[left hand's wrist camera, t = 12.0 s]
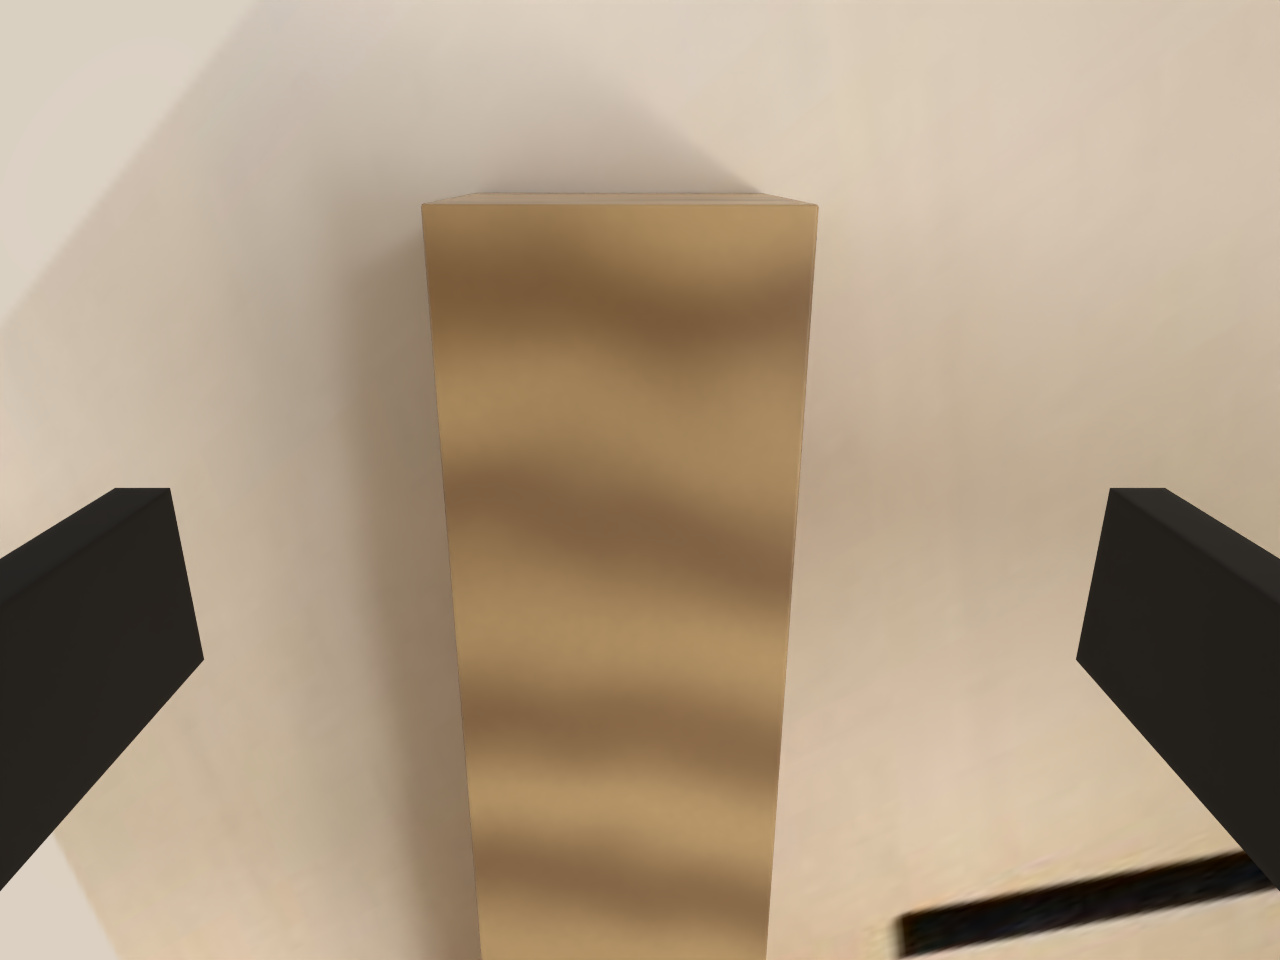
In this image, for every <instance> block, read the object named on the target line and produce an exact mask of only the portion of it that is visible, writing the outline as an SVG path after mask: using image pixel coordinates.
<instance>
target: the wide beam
mask: <svg viewBox="0 0 1280 960" xmlns="http://www.w3.org/2000/svg"><path fill="white" fill-rule="evenodd" d="M818 208H819V207H818V205H816V204H811V203H806V202H802V201H797V200H792V199H787V198H782V197H777V196H773V195H768V194H731V193H474V194H469V195H464V196H459V197H454V198H450V199H445V200H440V201H435V202H430V203H425V204H422V206H421V212H422V224H423V237H424V249H425V262H426V274H427V287H428V299H429V312H430V324H431V337H432V349H433V362H434V374H435V387H436V399H437V412H438V424H439V437H440V449H441V462H442V474H443V487H444V499H445V512H446V524H447V537H448V549H449V562H450V574H451V587H452V599H453V612H454V624H455V637H456V649H457V661H458V674H459V686H460V699H461V711H462V724H463V736H464V749H465V761H466V774H467V786H468V799H469V811H470V824H471V836H472V849H473V861H474V874H475V886H476V899H477V911H478V924H479V936H480V949H481V960H766V950H767V936H768V921H769V907H770V893H771V879H772V864H773V850H774V836H775V822H776V807H777V793H778V779H779V765H780V750H781V736H782V722H783V707H784V693H785V679H786V665H787V650H788V636H789V622H790V608H791V593H792V579H793V565H794V551H795V536H796V522H797V508H798V494H799V479H800V465H801V451H802V436H803V422H804V408H805V394H806V379H807V365H808V351H809V337H810V322H811V308H812V294H813V280H814V265H815V251H816V237H817V223H818Z"/></svg>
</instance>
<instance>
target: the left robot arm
mask: <svg viewBox="0 0 1280 960" xmlns="http://www.w3.org/2000/svg"><path fill="white" fill-rule="evenodd" d="M203 660H204V657H203V652H202V647H201V642H200V637H199V632H198V627H197V622H196V617H195V612H194V607H193V602H192V597H191V592H190V587H189V582H188V577H187V571H186V566H185V561H184V556H183V551H182V546H181V541H180V536H179V531H178V526H177V521H176V516H175V511H174V506H173V501H172V496H171V491H170V488H114V489H113V490H111V491H110V492H108V493H106V494H105V495H103V496H101V497H100V498H98V499H97V500H95V501H93V502H92V503H90V504H88V505H87V506H85V507H84V508H82V509H80V510H79V511H77V512H75V513H74V514H72V515H71V516H69V517H67V518H66V519H64V520H63V521H61V522H59V523H58V524H56V525H54V526H53V527H51V528H50V529H48V530H46V531H45V532H43V533H41V534H40V535H38V536H37V537H35V538H33V539H32V540H30V541H28V542H27V543H25V544H24V545H22V546H20V547H19V548H17V549H16V550H14V551H12V552H11V553H9V554H7V555H6V556H4V557H3V558H1V559H0V891H1V890H2V888H3V887H4V886H5V885H6V884H7V883H8V882H9V881H10V879H11V878H12V877H13V876H14V875H15V874H16V873H17V871H18V870H19V869H20V868H21V867H22V866H23V865H24V863H25V862H26V861H27V860H28V859H29V858H30V857H31V856H32V854H33V853H34V852H35V851H36V850H37V849H38V848H39V846H40V845H41V844H42V843H43V842H44V841H45V840H46V839H47V837H48V836H49V835H50V834H51V833H52V832H53V831H54V829H55V828H56V827H57V826H58V825H59V824H60V823H61V821H62V820H63V819H64V818H65V817H66V816H67V815H68V814H69V812H70V811H71V810H72V809H73V808H74V807H75V806H76V804H77V803H78V802H79V801H80V800H81V799H82V798H83V796H84V795H85V794H86V793H87V792H88V791H89V790H90V789H91V787H92V786H93V785H94V784H95V783H96V782H97V781H98V779H99V778H100V777H101V776H102V775H103V774H104V773H105V771H106V770H107V769H108V768H109V767H110V766H111V765H112V764H113V762H114V761H115V760H116V759H117V758H118V757H119V756H120V754H121V753H122V752H123V751H124V750H125V749H126V748H127V746H128V745H129V744H130V743H131V742H132V741H133V740H134V739H135V737H136V736H137V735H138V734H139V733H140V732H141V731H142V729H143V728H144V727H145V726H146V725H147V724H148V723H149V721H150V720H151V719H152V718H153V717H154V716H155V715H156V714H157V712H158V711H159V710H160V709H161V708H162V707H163V706H164V704H165V703H166V702H167V701H168V700H169V699H170V698H171V696H172V695H173V694H174V693H175V692H176V691H177V690H178V689H179V687H180V686H181V685H182V684H183V683H184V682H185V681H186V679H187V678H188V677H189V676H190V675H191V674H192V673H193V671H194V670H195V669H196V668H197V667H198V666H199V665H200V664H201V662H202V661H203ZM1076 660H1077V661H1078V662H1079V664H1080V665H1081V666H1082V667H1083V668H1084V669H1085V670H1086V671H1087V673H1088V674H1089V675H1090V676H1091V677H1092V678H1093V679H1094V681H1095V682H1096V683H1097V684H1098V685H1099V686H1100V687H1101V689H1102V690H1103V691H1104V692H1105V693H1106V694H1107V695H1108V696H1109V698H1110V699H1111V700H1112V701H1113V702H1114V703H1115V704H1116V706H1117V707H1118V708H1119V709H1120V710H1121V711H1122V712H1123V714H1124V715H1125V716H1126V717H1127V718H1128V719H1129V720H1130V721H1131V723H1132V724H1133V725H1134V726H1135V727H1136V728H1137V729H1138V731H1139V732H1140V733H1141V734H1142V735H1143V736H1144V737H1145V739H1146V740H1147V741H1148V742H1149V743H1150V744H1151V745H1152V746H1153V748H1154V749H1155V750H1156V751H1157V752H1158V753H1159V754H1160V756H1161V757H1162V758H1163V759H1164V760H1165V761H1166V762H1167V764H1168V765H1169V766H1170V767H1171V768H1172V769H1173V770H1174V771H1175V773H1176V774H1177V775H1178V776H1179V777H1180V778H1181V779H1182V781H1183V782H1184V783H1185V784H1186V785H1187V786H1188V787H1189V789H1190V790H1191V791H1192V792H1193V793H1194V794H1195V795H1196V796H1197V798H1198V799H1199V800H1200V801H1201V802H1202V803H1203V804H1204V806H1205V807H1206V808H1207V809H1208V810H1209V811H1210V812H1211V814H1212V815H1213V816H1214V817H1215V818H1216V819H1217V820H1218V821H1219V823H1220V824H1221V825H1222V826H1223V827H1224V828H1225V829H1226V831H1227V832H1228V833H1229V834H1230V835H1231V836H1232V837H1233V838H1234V840H1235V841H1236V842H1237V843H1238V844H1239V845H1240V846H1241V848H1242V849H1243V850H1244V851H1245V852H1246V853H1247V854H1248V856H1249V857H1250V858H1251V859H1252V860H1253V861H1254V862H1255V863H1256V865H1257V866H1258V867H1259V868H1260V869H1261V870H1262V871H1263V873H1264V874H1265V875H1266V876H1267V877H1268V878H1269V879H1270V881H1271V882H1272V883H1273V884H1274V885H1275V886H1276V887H1277V888H1278V890H1279V891H1280V559H1279V558H1277V557H1276V556H1274V555H1273V554H1271V553H1269V552H1268V551H1266V550H1265V549H1263V548H1261V547H1260V546H1258V545H1256V544H1255V543H1253V542H1252V541H1250V540H1248V539H1247V538H1245V537H1243V536H1242V535H1240V534H1239V533H1237V532H1235V531H1234V530H1232V529H1230V528H1229V527H1227V526H1226V525H1224V524H1222V523H1221V522H1219V521H1217V520H1216V519H1214V518H1213V517H1211V516H1209V515H1208V514H1206V513H1205V512H1203V511H1201V510H1200V509H1198V508H1196V507H1195V506H1193V505H1192V504H1190V503H1188V502H1187V501H1185V500H1183V499H1182V498H1180V497H1179V496H1177V495H1175V494H1174V493H1172V492H1170V491H1169V490H1167V489H1166V488H1110V491H1109V496H1108V501H1107V506H1106V511H1105V516H1104V521H1103V526H1102V531H1101V536H1100V541H1099V546H1098V551H1097V556H1096V561H1095V566H1094V571H1093V577H1092V582H1091V587H1090V592H1089V597H1088V602H1087V607H1086V612H1085V617H1084V622H1083V627H1082V632H1081V637H1080V642H1079V647H1078V652H1077V657H1076Z"/></svg>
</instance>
